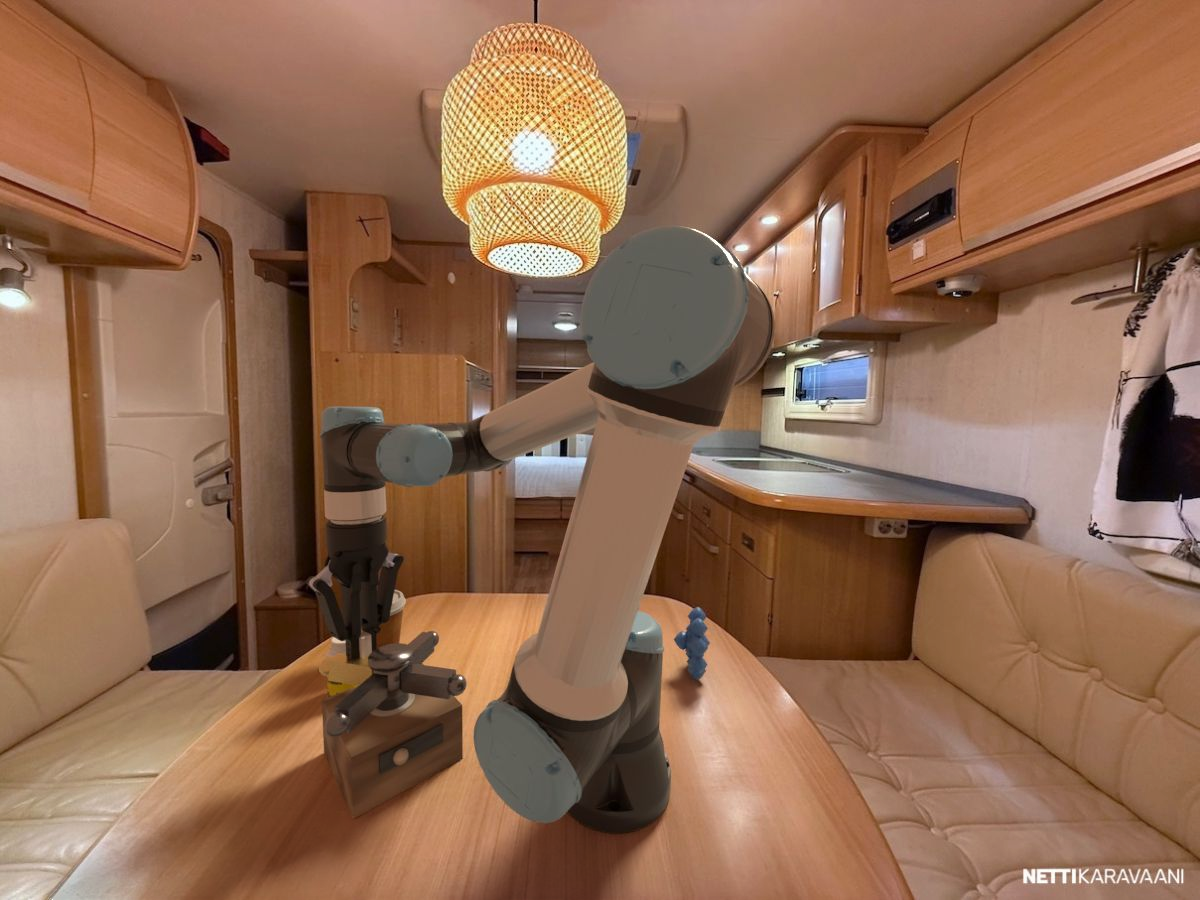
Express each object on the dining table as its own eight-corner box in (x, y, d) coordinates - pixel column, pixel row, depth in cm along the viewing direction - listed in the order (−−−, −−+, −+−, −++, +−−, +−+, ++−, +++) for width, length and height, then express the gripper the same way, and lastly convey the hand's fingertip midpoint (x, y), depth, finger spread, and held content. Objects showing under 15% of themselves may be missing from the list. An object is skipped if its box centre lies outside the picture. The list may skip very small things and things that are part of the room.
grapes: (672, 652, 92) (674, 595, 91) (705, 655, 91) (708, 598, 90) (672, 687, 81) (675, 623, 80) (711, 691, 80) (714, 626, 79)
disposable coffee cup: (392, 672, 83) (391, 610, 82) (341, 670, 83) (339, 608, 82) (415, 645, 93) (414, 588, 91) (369, 643, 93) (367, 587, 92)
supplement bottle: (320, 697, 76) (318, 639, 75) (352, 680, 80) (350, 625, 79) (340, 709, 73) (337, 649, 72) (372, 691, 78) (370, 634, 77)
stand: (467, 764, 62) (467, 708, 62) (355, 829, 53) (353, 763, 52) (421, 707, 74) (420, 659, 73) (322, 752, 64) (319, 697, 63)
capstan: (499, 666, 72) (499, 625, 71) (417, 778, 50) (416, 721, 49) (374, 648, 76) (373, 609, 75) (249, 745, 54) (246, 692, 53)
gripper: (384, 505, 70) (388, 648, 73) (292, 523, 59) (301, 690, 62) (414, 512, 66) (417, 663, 69) (321, 532, 55) (329, 711, 58)
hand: (362, 676), depth 65 cm, fingers closed
